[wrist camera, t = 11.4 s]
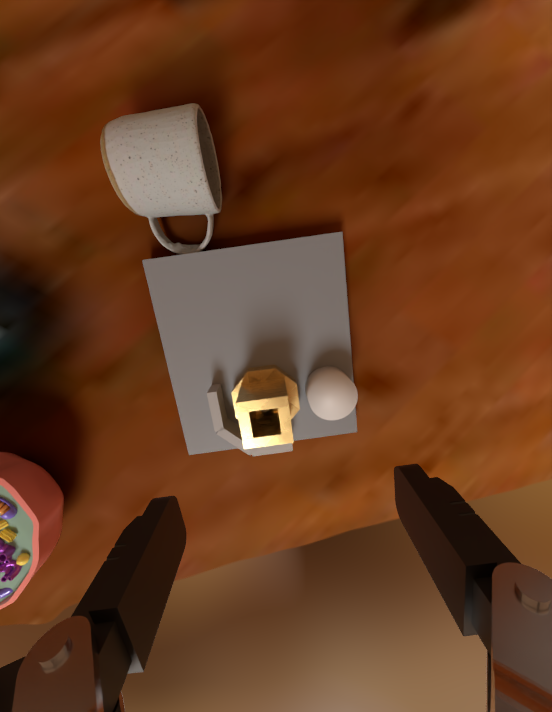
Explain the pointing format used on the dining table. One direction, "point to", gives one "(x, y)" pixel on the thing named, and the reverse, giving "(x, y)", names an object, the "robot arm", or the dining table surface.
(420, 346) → the dining table surface
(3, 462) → the cell model
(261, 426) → the gold hollow block
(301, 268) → the carrier
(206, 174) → the ceramic mug
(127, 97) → the dining table surface
